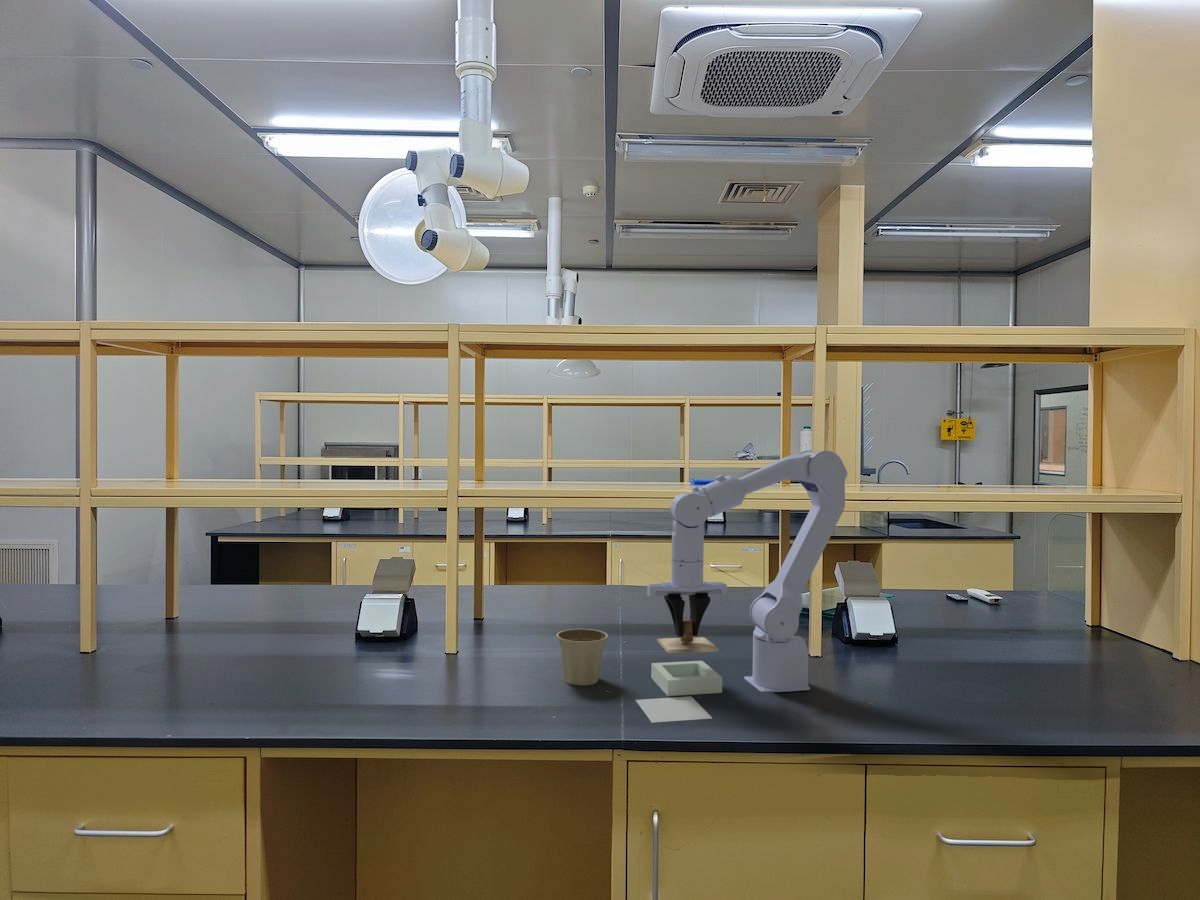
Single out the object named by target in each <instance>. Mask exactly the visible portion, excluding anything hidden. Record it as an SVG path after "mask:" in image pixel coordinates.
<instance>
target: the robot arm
mask: <svg viewBox="0 0 1200 900" xmlns="http://www.w3.org/2000/svg"><path fill="white" fill-rule="evenodd" d="M848 475H849V473H848V471H847V469H846V467H845V464H844V462H843V460H842V458H841V457H840V456H839V455H838V454H837V453H836V452H834V451H831V450H821V451H816V450H815V451H813V450H809V449H808V450H804V451H801V452H799V453H797V454H791V455H786V456H784V457H781V458H779V459H778V460H776V461H773V462H771V463H769V464H767V465H764V466H763V467H760V468H758V469H756V470H754V471H752V472H750V473H748V474H745V475H743V476H742V477H739V478H736V477H735V476H732V475H726V476H724V474H720V475H717V476H715V481H712V482H710V483H707V484H705V485H704V484H703V485H702V486H700V487H699V486H697V485H695V486H693V487H691V490H692V492H691V493H689V492H682V493H679V494H678V495H676V496H675V497H674V498H673V500H672V501H671V502H670V507H668V512H669V513H668V514H669V516H670V517H671V519H672V534H671V579H670V581H669V582H661V583H660V582H659V583H647V584H646V595H647V596H648V597H649V598H655V597H663V599H664V601H665V603H666V605H667V607H668V610H669V613H670V615H671V618H672V621H673V622H672V623H673V626H674V632H675V633H674V634H675V635H676V636H677V638H681V637H683V620H684V613H685V611H684V610H685V605H686V600H683V597H682V596H688V601H689V620H692V621H693V637H698V635H699V634H698V633H699V629H700V626H701V623H702V619H703V617H704V614H705V613H706V611H707V609H708V607H709V606H710V603H711V597H710V596H709V595H721V596H723V595H724V596H726V595H727V589H728V584H727V583H725V582H724V581H722V582H721V581H720V582H719V581H717V582H716V581H715V582H714V581H704V551H705V550H704V547H705V546H704V545H705V543H704V542H705V541H704V539H705V535H704V523H705V522H706V520H707V519H708V518H712V517H715V516H716V515H720V514H722V513H724V512H727V511H729V510H732V509H733V508H736V507H739V506H741V505H742V504H743V503H744V499H745V498H746V495H748V494H751V493H754V492H757V491H759V490H761V489H764V488H767V487H770V486H772V485H775V484H777V483H781V482H782V481H786V480H788V481H789V480H792V481H797V482H799V483H800V484H801V486H802V487H803V488H804V489H805V490H806V491H805V492H806V493H807V496H808V497H809V500H810V502H811V507H810V510H808V513H807V515H806V518H805V519H804V521H803V523H802V525H801V527H800V529H799V532H798V533H797V535H796V537H795V540H794V541H793V543H792V544H791V547H790V549H789V551H788V553H787V555H786V556H785V559H784V561H783V562H782V565H781V567H780V568H779V570H778V573H777V575H776V576H775V579H774V580H773V581H771V582H769V584H768V585H767V586H765V588H764V590H763V592H762V593H761V594H760V595H759V596H757V598H755V599H754V600H753V601H752V603H751V604H750V607H749V617H750V620H751V621H752V623H753V624H754V626H755V627H754V630H753V632H752V675H748V676H747V675H746V676H744V677H743V679H744V680H745V681H746V682H747V683H749V684H750V685H752V686H753V687H754V688H755V689H756V690H758V691H760V693H782V692H783V693H784V692H785V693H786V692H787V693H788V692H798V691H799V692H801V691H811V686H809V650H808V646H807V643H806V641H805V639H804V638H803V637H802V636H800V635H796V633H797V632H798V630H799V629H798V628H799V625H800V621H799V620H800V614H801V612H802V610H803V607H804V606H803V597H802V595H803V592H804V590H805V589H806V587H807V584H808V582H809V580H810V578H811V576H812V574H813V572H814V570H815V569H816V566H817V565H818V563H819V560H820V558H821V556H822V555H823V552H824V550H825V548H826V546H827V544H828V542H829V540H830V539H831V537H832V534H833V532H834V530H835V528H836V526H837V525H838V522H839V521H840V518H841V516H842V514H843V512H844V510H845V507H846V489H845V487H846V485H845V484H846V483H845V482H846V478H847V476H848Z"/></svg>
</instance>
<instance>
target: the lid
mask: <svg viewBox="0 0 1200 900" xmlns="http://www.w3.org/2000/svg"><path fill="white" fill-rule="evenodd" d="M656 642H657V644H658V645H660V646H661V648H662V649H663V650H664V651H665V652H667V654H680V653H681V654H684V653H685V654H686V653H690V654H691V653H714V652H715V653H718V652H719V650H720V649H719V647H717V646H716V645H715V644H713V642H711V641H710V640H709V639H707V638H705V636H703V637H702V636H699V637H698V636H695V637H694V636H693V621H692V620H690V619H683V637H668V638H667V637H666V638H664V637H663V638H656Z"/></svg>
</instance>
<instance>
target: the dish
mask: <svg viewBox="0 0 1200 900" xmlns="http://www.w3.org/2000/svg"><path fill="white" fill-rule="evenodd" d="M650 664H651V667H650V668H651V671H650V672H651V673H650V674H651V675H650V678H651V679H652V680H653V681H654V683H655V684H656V685H657V686H658V688H660V689H661V691H662V692H663V693H664V694H665V695H666V696H667V697H673V696H676V697H677V696H689V695H690V696H692V695H707V694H709V695H710V694H721V693H723V677H722V675H720V674H718V672H716V671H715V670H714V669H713V668H711V667H710V666H709V665H708V664H707V663H705V661H703V660H690V661H689V660H688V661H671V662H670V661H669V662H668V661H666V662H652V663H650Z"/></svg>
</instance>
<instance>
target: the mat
mask: <svg viewBox="0 0 1200 900" xmlns="http://www.w3.org/2000/svg"><path fill="white" fill-rule="evenodd" d="M635 702H636V703H637V705H639V707H640V708H641V711H642V712H643V713H644V714H645V715H646V717H647V718H648V719H649V721H650V722H651V724H654V723H669V722H670V723H671V722H680V721H681V722H682V721H683V722H684V721H697V720H711V719H713V717H712V716H711V715H710V714H709V713H708V712H707V710H705V708H703V707H702V706H701V705H700V704H699V703H698V701H696V699H695V698H694V697H692V695H690V696H679V697H677V696H676V697H660V698H647V699H646V698H645V699H635Z"/></svg>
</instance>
